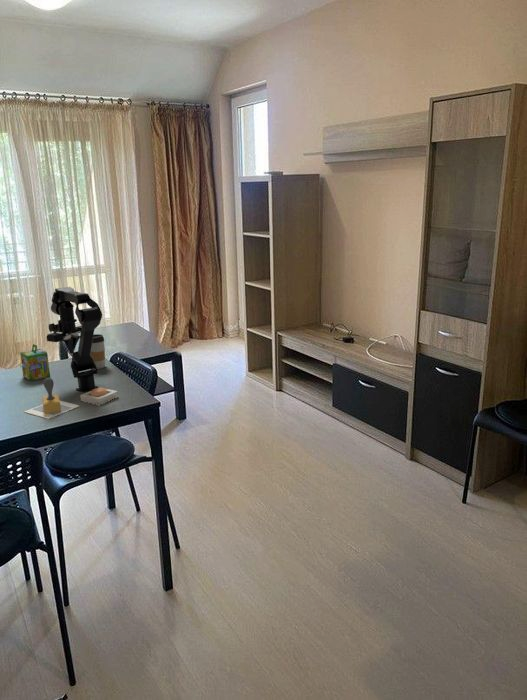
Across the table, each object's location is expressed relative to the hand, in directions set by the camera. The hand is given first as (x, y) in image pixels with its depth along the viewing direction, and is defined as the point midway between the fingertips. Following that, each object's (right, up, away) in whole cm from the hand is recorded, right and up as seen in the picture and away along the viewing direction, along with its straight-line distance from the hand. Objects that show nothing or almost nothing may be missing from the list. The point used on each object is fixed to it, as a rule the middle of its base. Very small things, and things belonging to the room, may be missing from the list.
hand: (71, 353), depth 229 cm
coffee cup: (+4, -7, +24) cm, 25 cm away
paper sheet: (+2, -21, -27) cm, 34 cm away
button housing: (+17, -18, -18) cm, 31 cm away
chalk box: (-20, -11, +12) cm, 26 cm away
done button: (+17, -17, -18) cm, 30 cm away
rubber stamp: (+2, -21, -27) cm, 34 cm away
